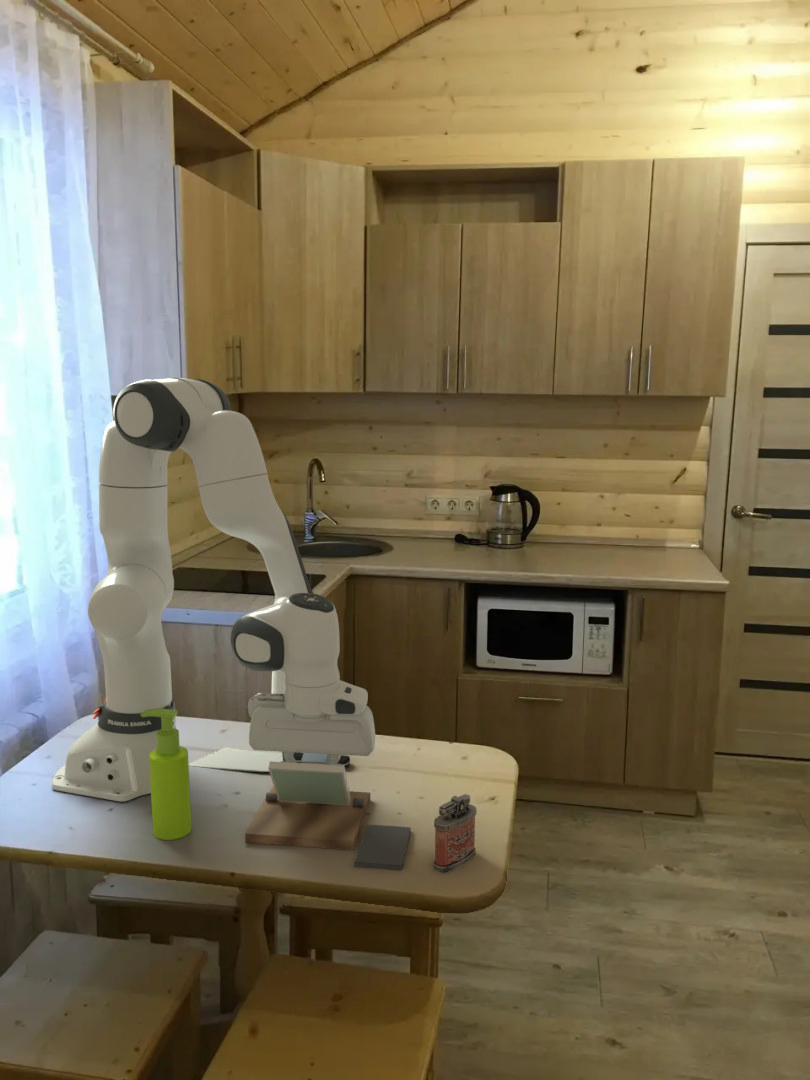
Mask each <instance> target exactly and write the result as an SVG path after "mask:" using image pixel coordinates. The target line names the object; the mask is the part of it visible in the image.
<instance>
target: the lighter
mask: <svg viewBox="0 0 810 1080" xmlns="http://www.w3.org/2000/svg"><path fill="white" fill-rule="evenodd" d="M470 803H471V796H470V795H469V794H466V793H464V794H461V795H459V796H457V795H453V796H452V797H451V799H450V800H449V801H447V802H445V803H443V804H442V805H440V806H439V807H438V814H439V815H438V816H437V817H435V818H434V820H433V827H434V829H435V830H434V832H435V833H434V836H435V837H434V861H433V870H434V871H435V872H437V873H439V874H446V873H450V872H453V871H455V870H457V869H459V868H462V867H463V866H464V865H466V864H468V863H469V862H470V861H472V859H474V857H475V856H476V847H475V843H476V842H475V835H476V833H475V831H476V829H475V828H476V815H477V807H476V806H474V805H473V804H470Z"/></svg>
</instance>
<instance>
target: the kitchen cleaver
mask: <svg viewBox="0 0 810 1080" xmlns="http://www.w3.org/2000/svg"><path fill="white" fill-rule="evenodd" d="M222 748H223V749H222ZM222 748H220V749H221V750H220V749H218V750H219V751H217V750H215V751H213V752H214V754H213V752H211V753H212V754H211V753H209V754H206V755H204V756H203V757H204V758H203V757H200V758H198V759H196V760H194V761H192V762H189V767H196V768H197V767H198V768H204V769H205V768H206V769H215V770H229V771H241V772H242V771H243V772H256V773H257V772H258V773H264V772H265V773H270V772H269V769H268V767H269V763H270V761H272V762H286V760H285V759H284V752H282V753H281V752H280V753H279V752H271V751H258V750H246V749H239V748H233V747H227V746H223V747H222ZM216 751H217V752H216ZM303 754H304V753H299V752H294V754H293V757H294V758H295V760H296V762H297V763H301V760H302V757H303ZM350 764H351V758H350V755H341V757H340V759H339V761H338V763H337V765H340V766H345V768H348V767H350Z"/></svg>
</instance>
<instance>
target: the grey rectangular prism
mask: <svg viewBox="0 0 810 1080" xmlns="http://www.w3.org/2000/svg"><path fill="white" fill-rule="evenodd" d="M332 761H333V760H331V754H318V753H304V754H303V757H302V760H301V763H306V764H323V765H326V764H331V763H332Z"/></svg>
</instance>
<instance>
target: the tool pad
mask: <svg viewBox="0 0 810 1080" xmlns="http://www.w3.org/2000/svg"><path fill="white" fill-rule="evenodd" d="M411 830H412V828H411V827H410V826H399V825H398V826H396V825H395V826H394V825H380V824H369V823H368V824H366V825H365V829H364V833H363V836H362V839H361V842H360V844H359V846H358V847H359V848H358V851H357V852H356V856H355V859H354V867H355V868H357V867H359V868H371V869H382V870H383V869H385V870H397V871H402V870H403V867H404V862H405V857H406V854H407V851H408V850H407V849H408V846H409V842H410V837H411V833H412V831H411Z"/></svg>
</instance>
